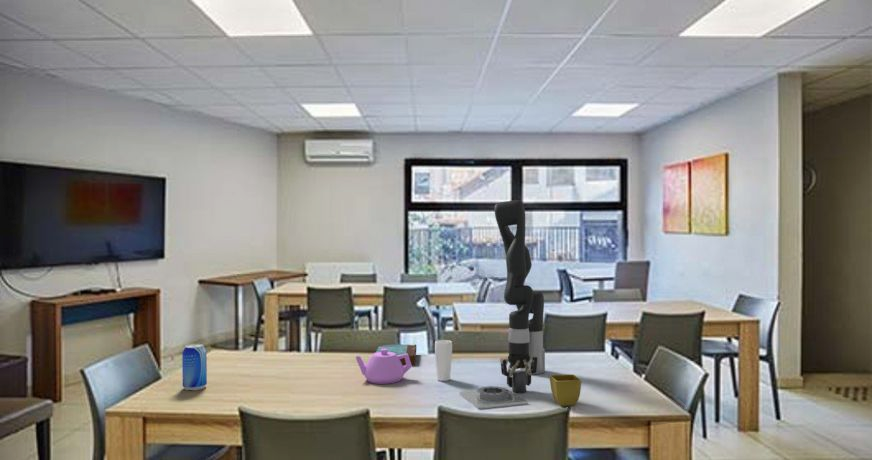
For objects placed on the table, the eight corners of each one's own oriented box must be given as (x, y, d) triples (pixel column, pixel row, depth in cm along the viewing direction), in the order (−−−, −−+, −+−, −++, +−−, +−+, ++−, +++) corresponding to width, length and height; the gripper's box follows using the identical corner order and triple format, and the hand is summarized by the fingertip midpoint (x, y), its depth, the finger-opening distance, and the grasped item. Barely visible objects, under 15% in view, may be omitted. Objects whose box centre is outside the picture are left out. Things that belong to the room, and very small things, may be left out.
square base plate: (505, 389, 222) (505, 381, 222) (527, 403, 205) (527, 395, 205) (459, 394, 217) (459, 386, 217) (478, 409, 200) (478, 400, 200)
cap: (522, 388, 224) (522, 369, 224) (528, 392, 219) (528, 373, 219) (510, 390, 222) (510, 371, 222) (515, 393, 217) (515, 374, 217)
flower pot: (549, 400, 209) (549, 374, 209) (573, 399, 210) (573, 373, 210) (556, 408, 200) (556, 381, 200) (582, 407, 201) (582, 380, 201)
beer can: (211, 386, 230) (211, 344, 229) (196, 392, 222) (195, 348, 222) (193, 384, 232) (193, 342, 232) (177, 390, 224) (177, 347, 224)
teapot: (410, 373, 247) (410, 344, 247) (413, 384, 231) (413, 352, 231) (356, 375, 244) (356, 346, 244) (355, 386, 229) (355, 354, 229)
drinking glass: (450, 382, 233) (450, 343, 233) (433, 381, 234) (433, 343, 234) (453, 378, 240) (453, 340, 239) (436, 377, 241) (436, 339, 241)
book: (415, 366, 261) (414, 355, 261) (374, 366, 261) (374, 355, 261) (416, 354, 284) (416, 344, 284) (378, 355, 284) (378, 344, 284)
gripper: (532, 337, 226) (532, 381, 226) (496, 339, 222) (496, 385, 222) (541, 340, 219) (541, 387, 219) (505, 343, 215) (505, 390, 215)
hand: (519, 385), depth 221 cm, fingers open, 6 cm apart
